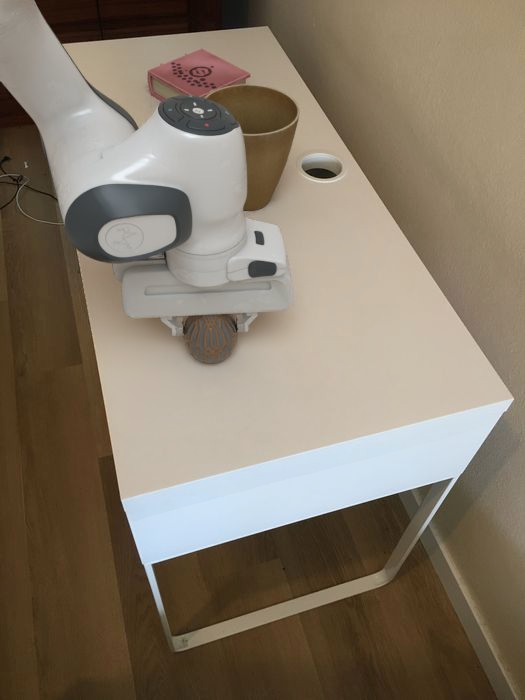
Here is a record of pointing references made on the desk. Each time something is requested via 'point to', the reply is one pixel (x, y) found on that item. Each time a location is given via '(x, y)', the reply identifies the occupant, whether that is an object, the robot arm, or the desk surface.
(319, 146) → the desk surface
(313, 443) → the desk surface
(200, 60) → the book
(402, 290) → the desk surface
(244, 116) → the plant pot
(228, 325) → the vase
